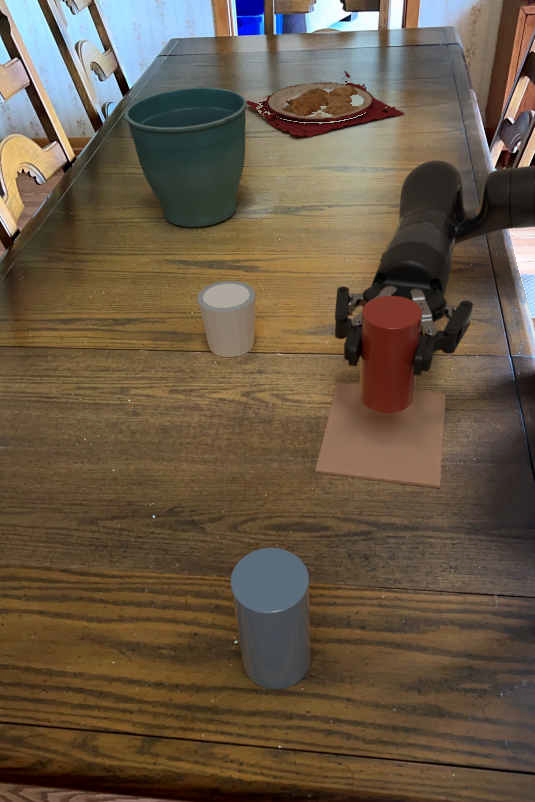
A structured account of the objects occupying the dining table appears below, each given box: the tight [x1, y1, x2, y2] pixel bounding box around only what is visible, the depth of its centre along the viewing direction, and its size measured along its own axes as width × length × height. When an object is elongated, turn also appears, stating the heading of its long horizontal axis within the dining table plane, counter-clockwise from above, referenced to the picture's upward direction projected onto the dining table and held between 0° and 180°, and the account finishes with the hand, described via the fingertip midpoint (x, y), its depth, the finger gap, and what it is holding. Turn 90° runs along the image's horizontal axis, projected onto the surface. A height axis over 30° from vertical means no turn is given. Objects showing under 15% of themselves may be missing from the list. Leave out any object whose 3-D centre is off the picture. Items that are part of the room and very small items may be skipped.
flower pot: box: [124, 87, 248, 228], centre depth 112 cm, size 18×18×17 cm
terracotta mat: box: [314, 382, 447, 489], centre depth 74 cm, size 12×14×1 cm
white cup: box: [196, 280, 256, 358], centre depth 86 cm, size 7×7×7 cm
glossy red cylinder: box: [359, 296, 422, 413], centre depth 68 cm, size 5×5×10 cm
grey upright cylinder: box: [230, 547, 312, 690], centre depth 52 cm, size 5×5×10 cm
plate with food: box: [246, 70, 405, 138], centre depth 150 cm, size 24×26×4 cm
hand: (384, 362), depth 66 cm, fingers closed on glossy red cylinder, 5 cm apart
